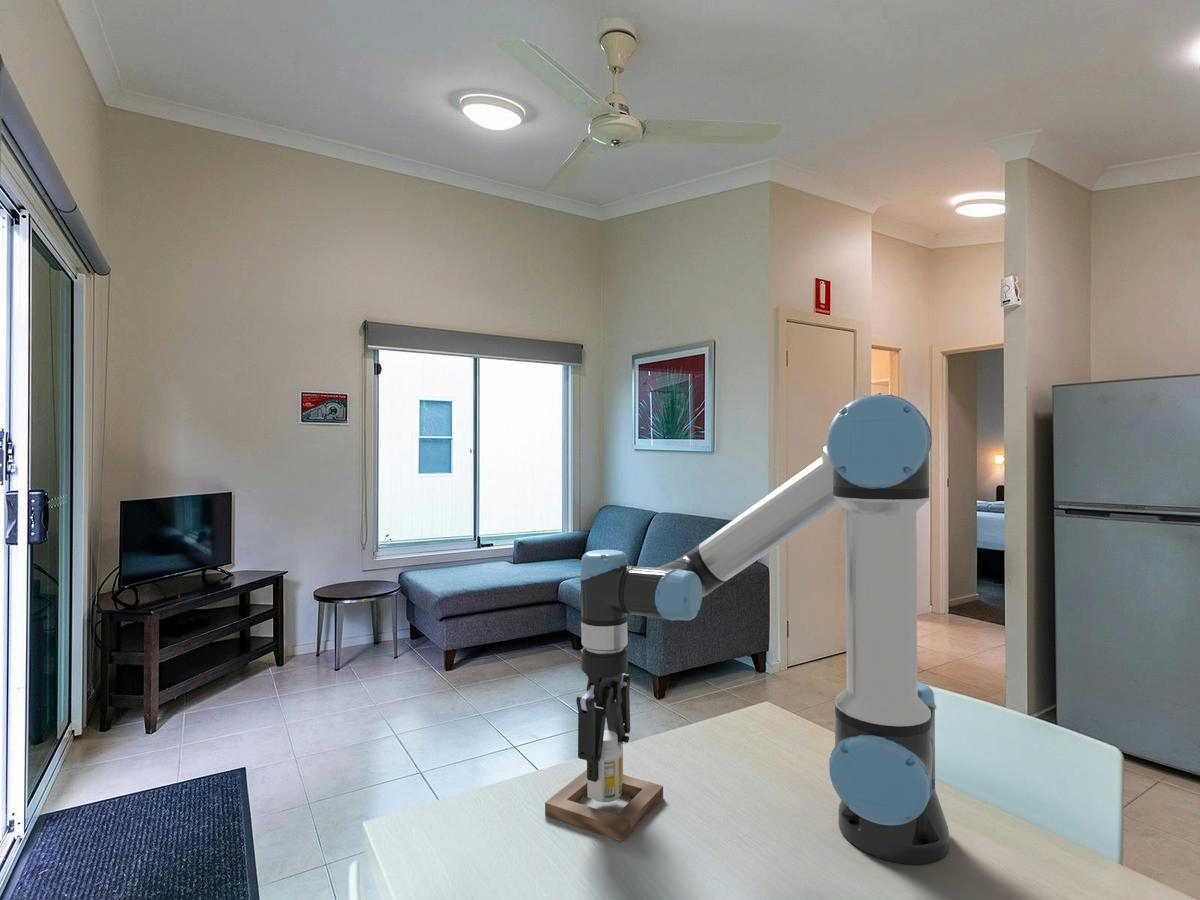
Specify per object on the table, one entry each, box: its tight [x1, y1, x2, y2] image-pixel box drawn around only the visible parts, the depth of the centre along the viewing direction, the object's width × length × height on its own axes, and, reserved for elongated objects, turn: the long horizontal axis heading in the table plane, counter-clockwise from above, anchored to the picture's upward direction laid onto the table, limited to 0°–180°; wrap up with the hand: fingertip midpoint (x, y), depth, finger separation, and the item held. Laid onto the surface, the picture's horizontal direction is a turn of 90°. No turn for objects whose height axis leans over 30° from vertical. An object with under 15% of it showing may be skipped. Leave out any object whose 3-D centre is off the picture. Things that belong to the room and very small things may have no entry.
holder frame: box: [544, 769, 664, 842], centre depth 107 cm, size 14×14×2 cm
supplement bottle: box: [595, 729, 622, 803], centre depth 107 cm, size 5×5×10 cm
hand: (605, 789), depth 107 cm, fingers closed on supplement bottle, 5 cm apart
